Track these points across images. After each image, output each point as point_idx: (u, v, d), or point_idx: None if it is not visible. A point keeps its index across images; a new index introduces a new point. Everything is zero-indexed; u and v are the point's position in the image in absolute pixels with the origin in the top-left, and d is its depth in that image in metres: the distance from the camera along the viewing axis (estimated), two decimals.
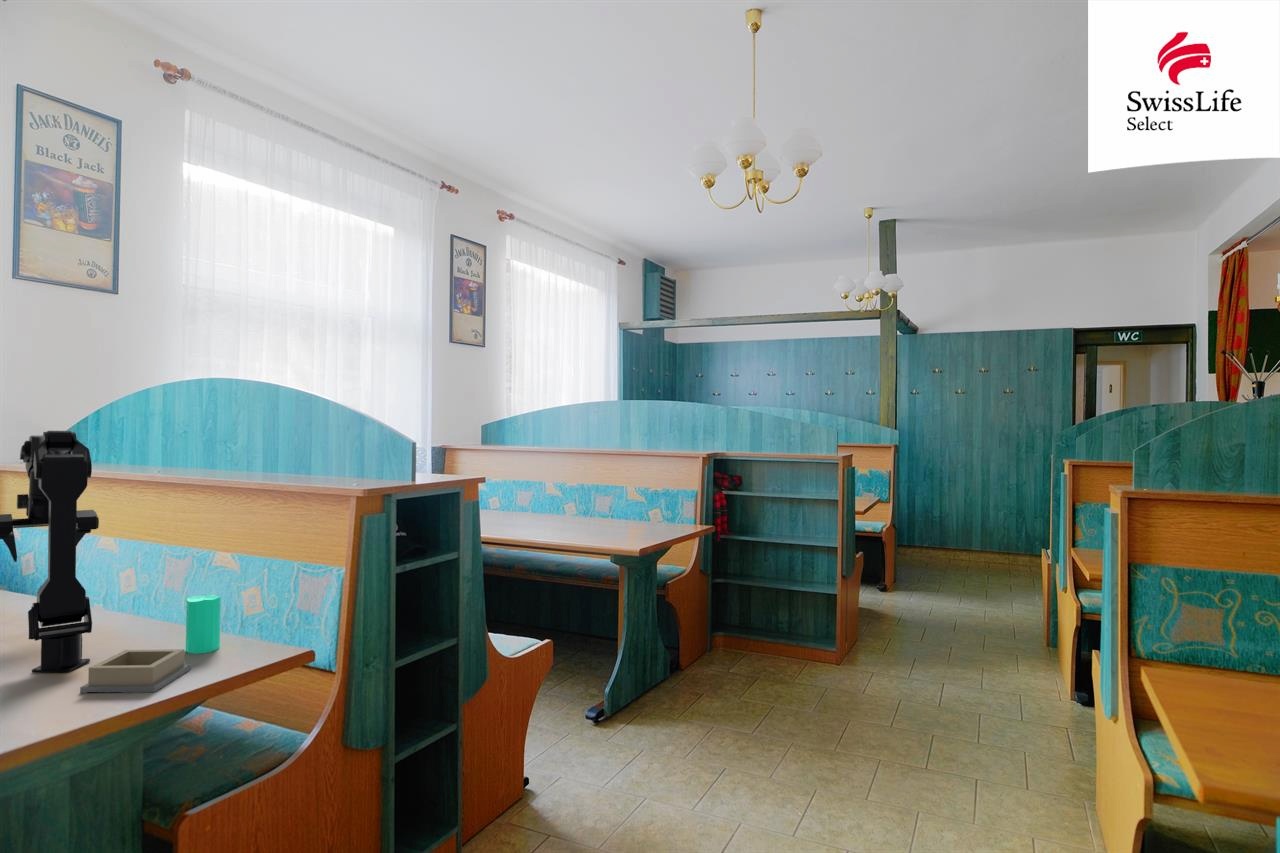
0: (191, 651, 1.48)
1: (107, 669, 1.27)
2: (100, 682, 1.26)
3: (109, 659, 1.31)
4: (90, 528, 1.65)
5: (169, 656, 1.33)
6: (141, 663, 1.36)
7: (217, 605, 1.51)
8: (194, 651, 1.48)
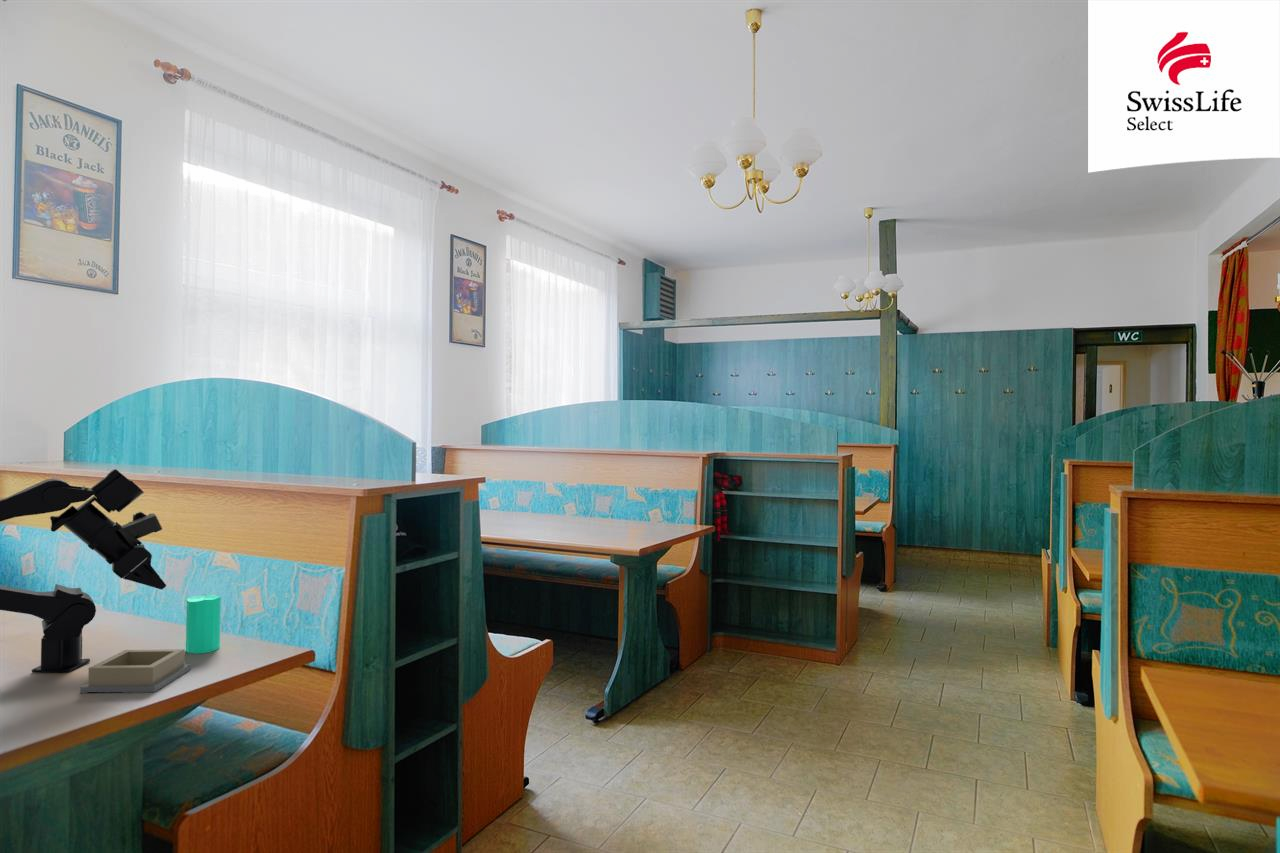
0: (191, 651, 1.48)
1: (107, 669, 1.27)
2: (100, 682, 1.26)
3: (109, 659, 1.31)
4: None
5: (169, 656, 1.33)
6: (141, 663, 1.36)
7: (217, 605, 1.51)
8: (194, 651, 1.48)
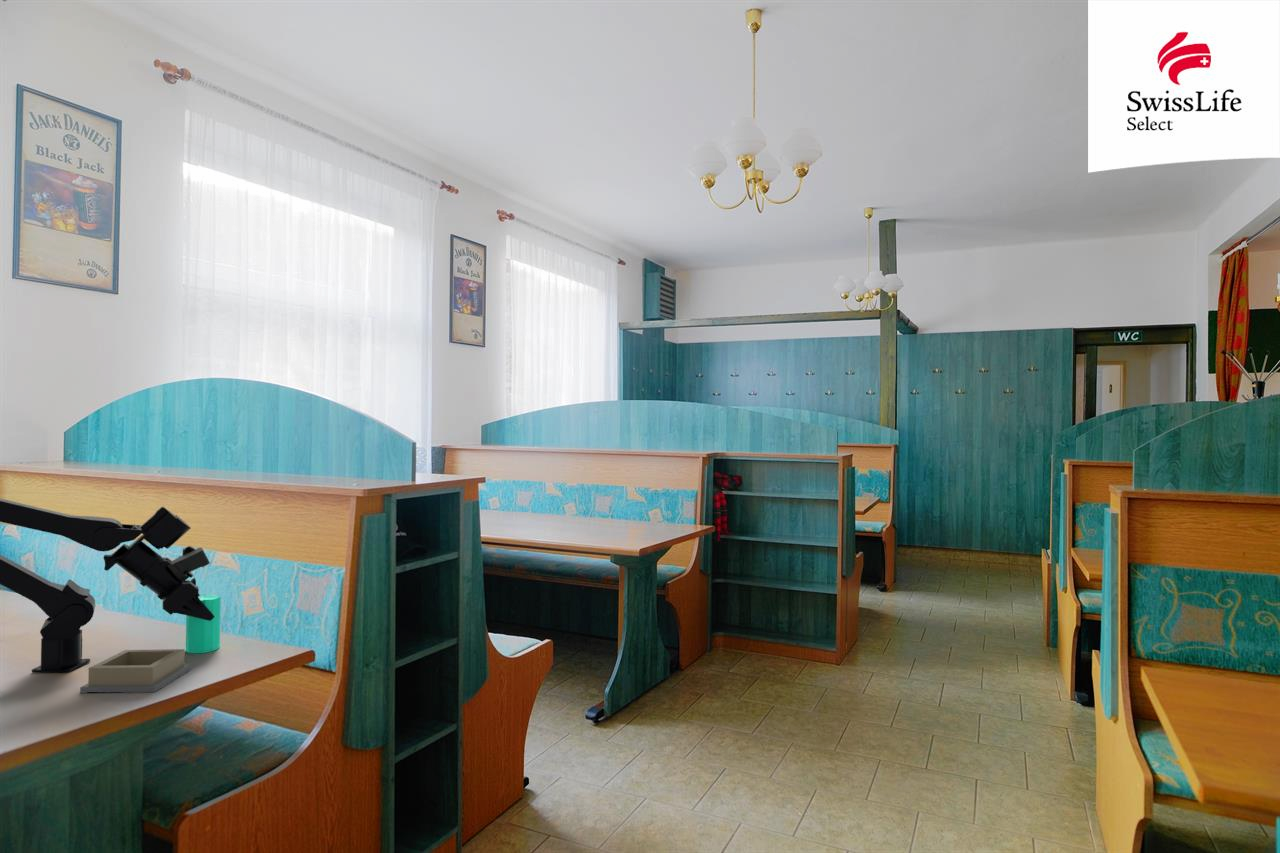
0: (191, 651, 1.48)
1: (107, 669, 1.27)
2: (100, 682, 1.26)
3: (109, 659, 1.31)
4: None
5: (169, 656, 1.33)
6: (141, 663, 1.36)
7: (217, 605, 1.51)
8: (194, 651, 1.48)
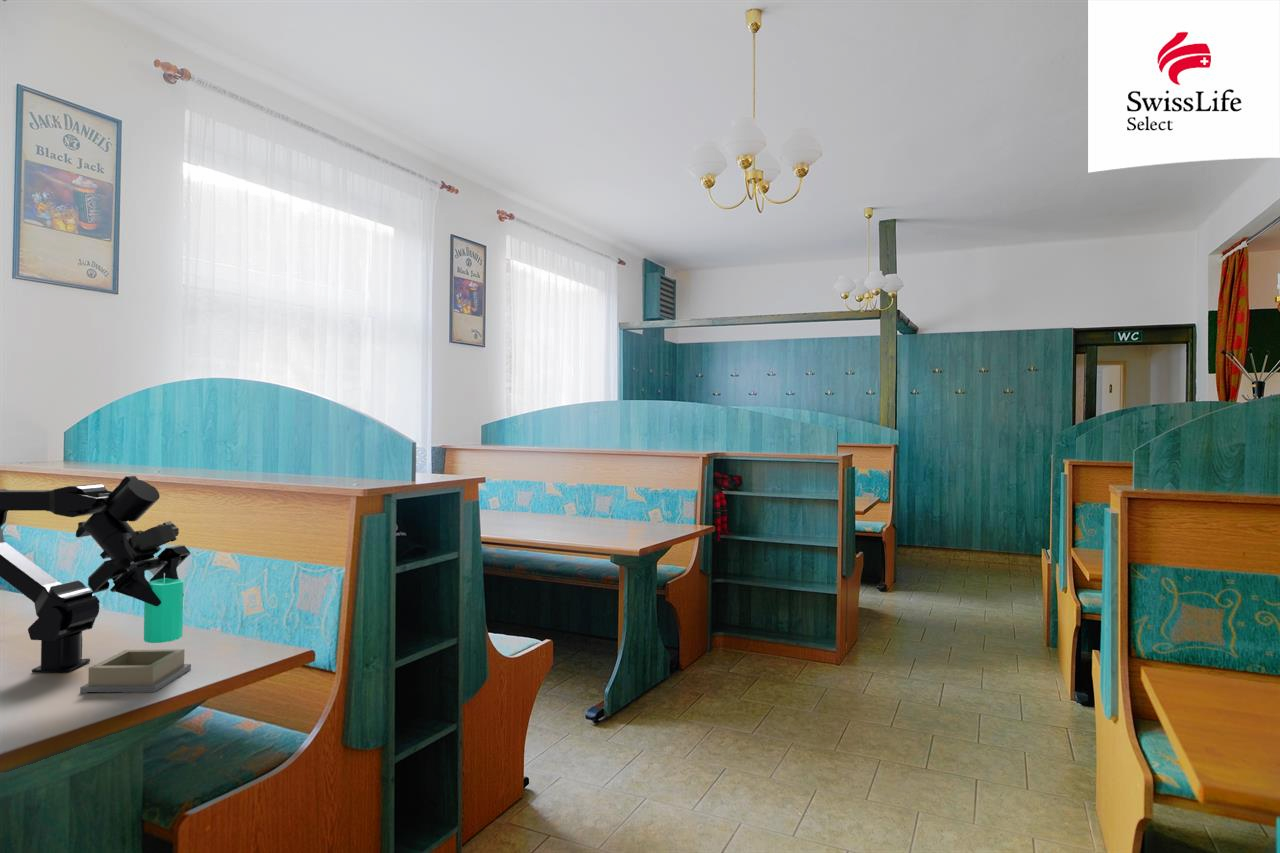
0: (144, 638, 1.34)
1: (107, 669, 1.27)
2: (100, 682, 1.26)
3: (109, 659, 1.31)
4: None
5: (169, 656, 1.33)
6: (141, 663, 1.36)
7: (169, 592, 1.34)
8: (145, 639, 1.34)
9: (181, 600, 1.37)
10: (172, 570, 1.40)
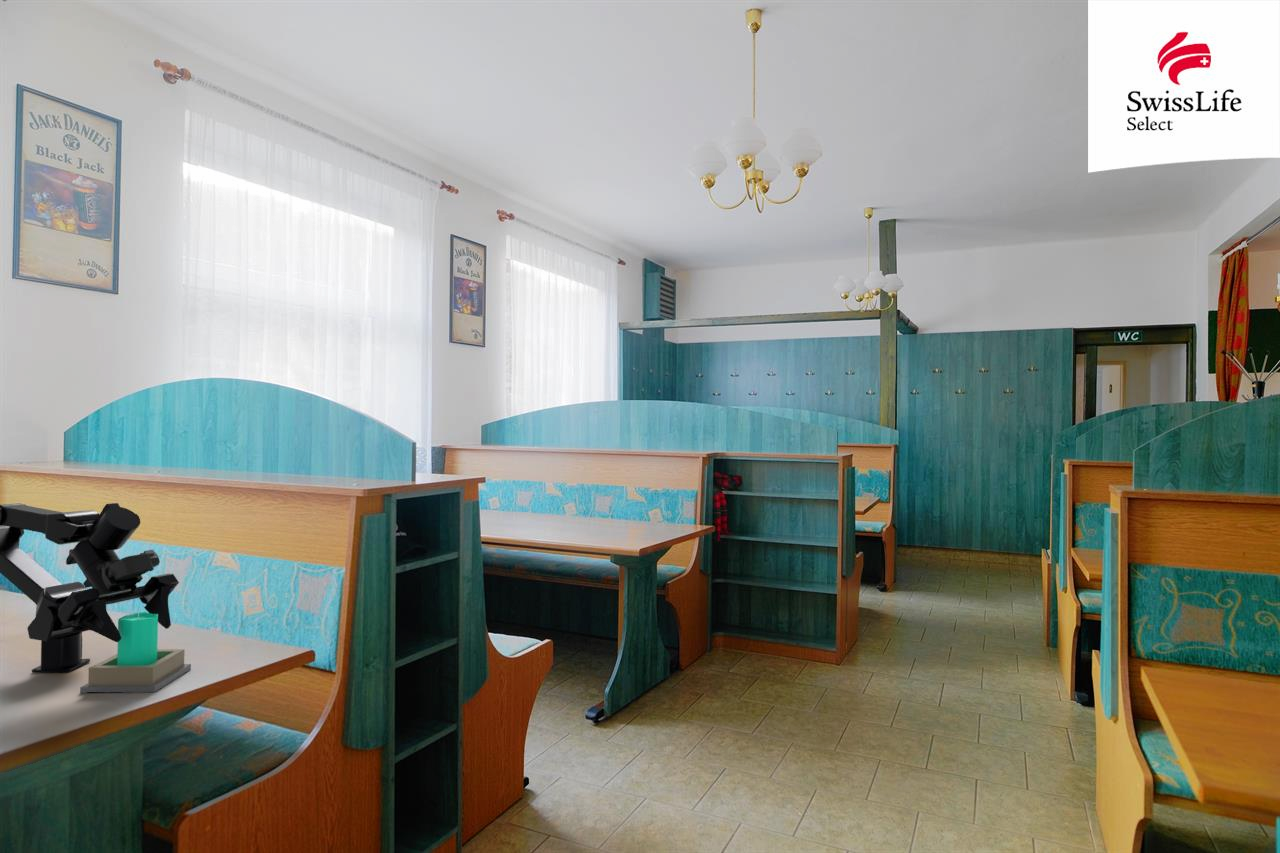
0: None
1: (107, 669, 1.27)
2: (100, 682, 1.26)
3: (109, 659, 1.31)
4: None
5: (169, 656, 1.33)
6: None
7: (139, 628, 1.30)
8: None
9: (154, 636, 1.32)
10: (162, 598, 1.37)
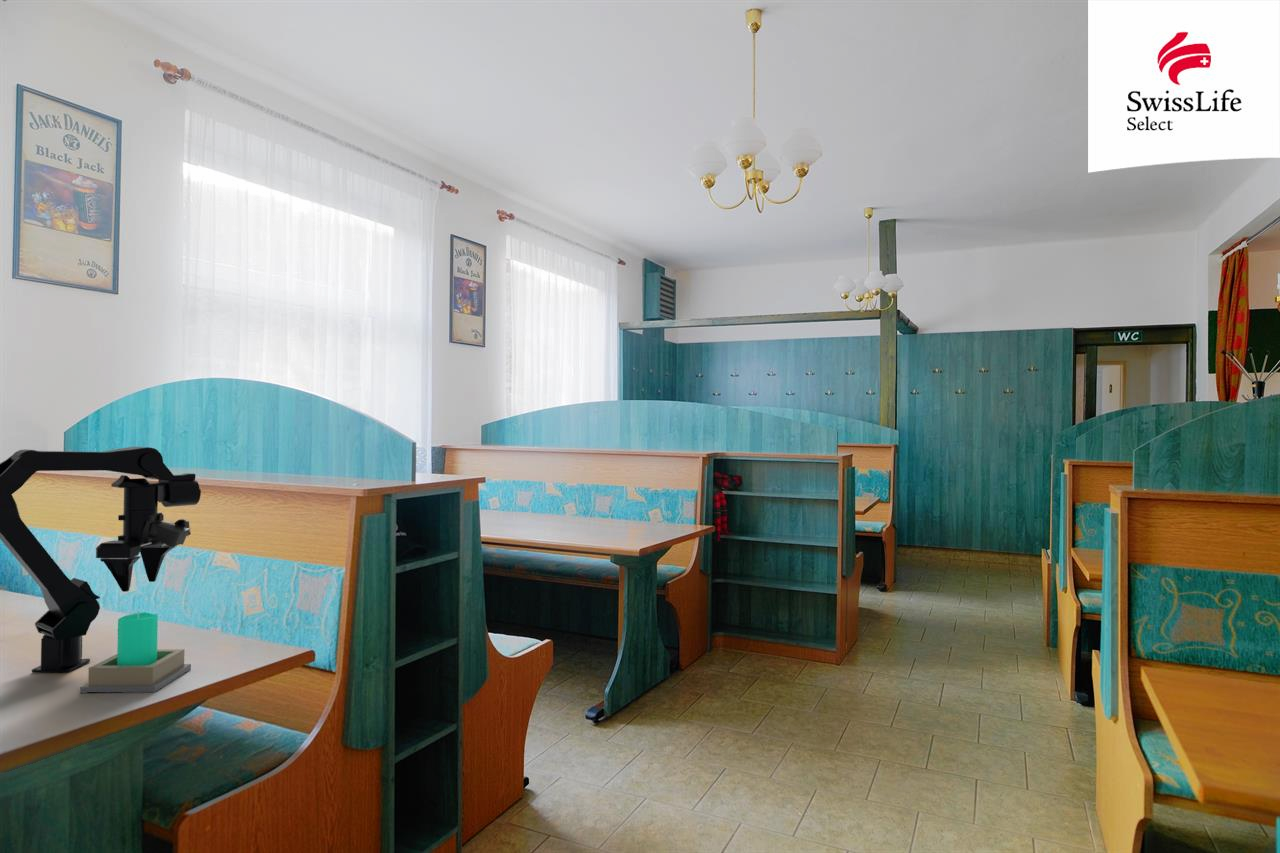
0: None
1: (107, 669, 1.27)
2: (100, 682, 1.26)
3: (109, 659, 1.31)
4: None
5: (169, 656, 1.33)
6: None
7: (139, 628, 1.30)
8: None
9: (154, 636, 1.32)
10: (162, 555, 1.55)
